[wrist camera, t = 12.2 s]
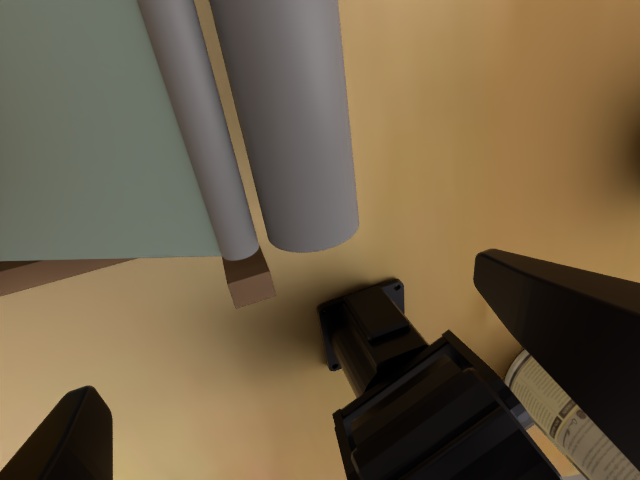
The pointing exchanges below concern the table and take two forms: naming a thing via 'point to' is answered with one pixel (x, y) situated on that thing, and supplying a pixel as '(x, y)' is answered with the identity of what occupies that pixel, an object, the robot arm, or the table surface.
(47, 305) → the table surface
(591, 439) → the coffee can
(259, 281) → the trapdoor frame
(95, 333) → the table surface
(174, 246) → the trapdoor
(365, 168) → the table surface
